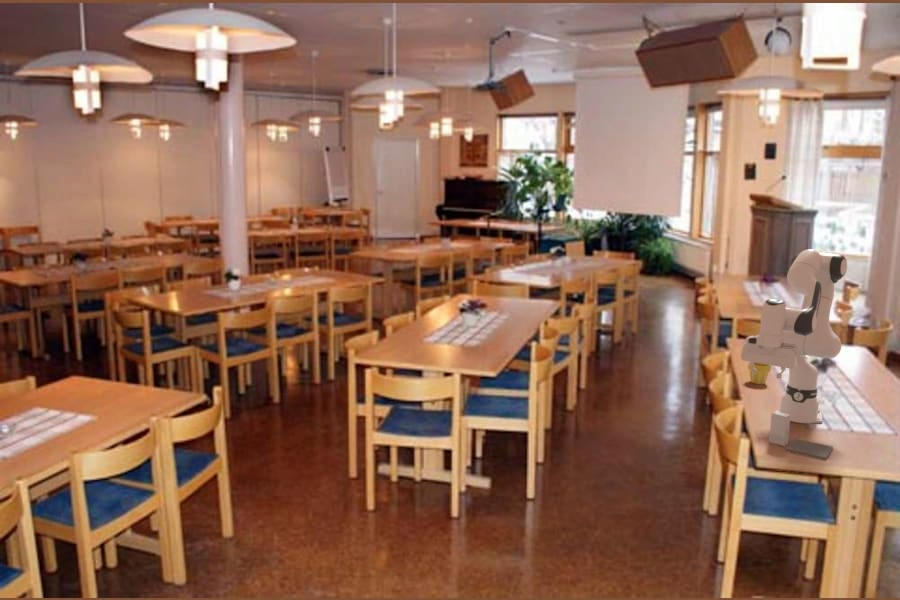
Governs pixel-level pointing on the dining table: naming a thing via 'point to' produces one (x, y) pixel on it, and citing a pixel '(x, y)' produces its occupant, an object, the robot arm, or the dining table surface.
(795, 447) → the rubber mat
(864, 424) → the dining table surface
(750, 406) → the dining table surface
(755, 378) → the plant pot
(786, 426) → the skincare box
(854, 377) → the dining table surface
